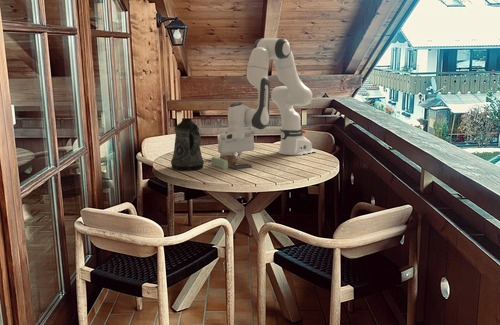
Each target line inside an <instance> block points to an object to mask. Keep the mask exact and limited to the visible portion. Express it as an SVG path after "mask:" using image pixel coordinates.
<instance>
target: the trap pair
mask: <svg viewBox="0 0 500 325" xmlns="http://www.w3.org/2000/svg"><path fill="white" fill-rule="evenodd" d="M252 167H253V165H252V164H249V163H242V164H241V163H240V164H236V165H231V166H230V167H229V168H230V169H232V170H241V169H249V168H252Z"/></svg>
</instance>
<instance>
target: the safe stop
mask: <svg viewBox="0 0 500 325" xmlns="http://www.w3.org/2000/svg"><path fill="white" fill-rule="evenodd" d="M211 164H212V165H213V166H216V167H218V168H221V169H223V170H226V169H227V170H228V169H229V167H228V161H227V160H224V159H221V158H220V157H218V156H216V155H214V156H211Z"/></svg>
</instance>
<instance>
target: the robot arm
mask: <svg viewBox="0 0 500 325" xmlns="http://www.w3.org/2000/svg"><path fill="white" fill-rule="evenodd" d="M270 60H274V67H275V72H276V75H277V79H278V80H279V82H280V83H282V84H284V85H281V86H275V87H274V88H273V89H272V91H271V83H270V80H269V67H270ZM246 79H247V81H248V82H249V84H250V85H251V86H253V87H255V89H256V90H257V92H258V93H257V94H258V96H257V108H251V107H248V106H247V105H245V104H244V102H241V101H240V102H233V103H230V105H229V106H228V108H227V109H228V110H227V121H228V126H227V130H226V131H224V132H222V133H219V134H218V135H219V137H220V138H221V139H220V140H219V142H218V141H217V142H218V143H217V151H218V153H219V154H220V153H222V154H223V153H231V154H232V155H233V156H236V161H240V159H241V156H242V153H243V152H250V151H254V150H255V141H254V139H255V138H254V134H253V133H251V132H250V133H249V132H248V133H246V127H249V128H253V129H257V130H265V129H266V128H267V127H268V126H269V124H270V121H271V114H270V102H271V101H270V99H271V100H272V102H273V103H274V104H275V105H276V106H277V108H278V110H279V113H280V118H281V120H280V121H281V123H280V124H281V128H280V145H279V149H278V154H281V155H286V156H304V155H303V154H305V155H309V154H308V153H310V154H313V153H312V152H316V153H317V151H316V150H315V149H313V146H312V142H311V140H309V139H308V138H306V137H305V136H304V135H303V134H306V133H307V130H306V129H301V123H302V122H301V120H302V119H301V115H300V114H299V113H298V112H296V110H295V109H294V106H296V107H302V106H304V107H305V106H308V105H310V104H311V102H312V101H313V91H312V90H311V89H310V88H309V87H307V86H306V85H305V84H304V83H303V81H302V80H301V78H300V77H299V74H298V70H297V66H296V61H295V56H294V54H293V51H292V46H291V44H290V42H289V40H287V39H285V38H279V37H278V38H277V37H268V38H258V39H256V40H255V42H254V43H253V46H252V50H251V53H250V55H249V59H248V63H247V69H246ZM236 153H237V155H236Z"/></svg>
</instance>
